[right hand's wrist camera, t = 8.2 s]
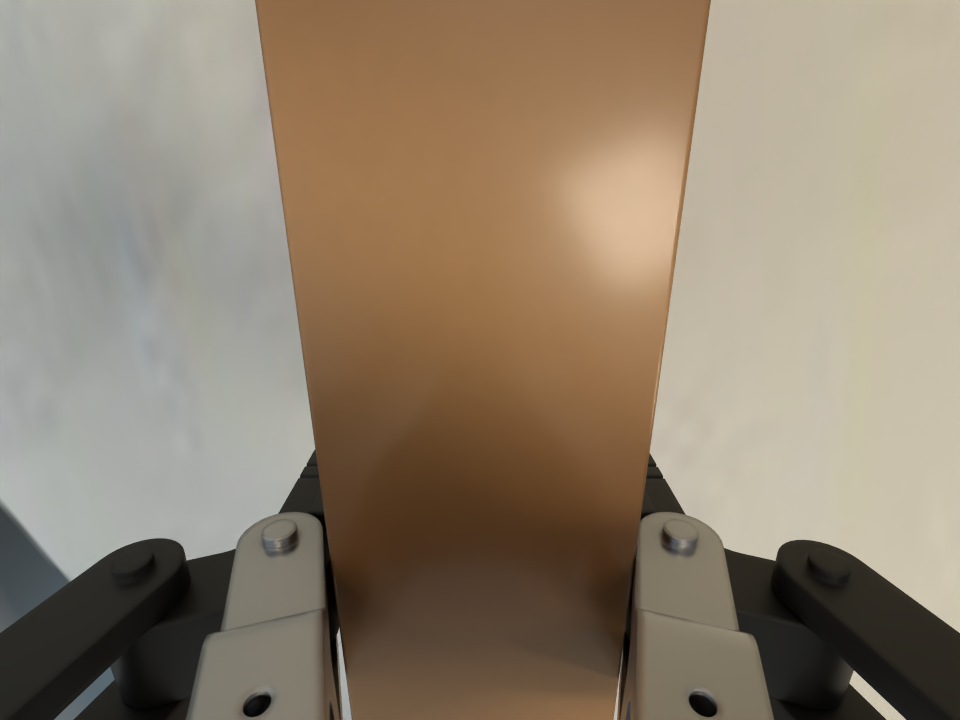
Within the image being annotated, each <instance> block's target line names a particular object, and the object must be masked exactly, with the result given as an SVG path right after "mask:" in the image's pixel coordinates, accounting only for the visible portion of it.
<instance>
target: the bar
mask: <svg viewBox="0 0 960 720" xmlns="http://www.w3.org/2000/svg"><path fill="white" fill-rule="evenodd" d="M710 2H711V0H255V3H256V11H257V18H258V26H259V33H260V40H261V48H262V55H263V63H264V70H265V78H266V85H267V92H268V100H269V107H270V115H271V122H272V130H273V137H274V144H275V152H276V159H277V167H278V174H279V182H280V189H281V196H282V204H283V211H284V219H285V226H286V233H287V241H288V248H289V256H290V263H291V271H292V278H293V285H294V293H295V300H296V308H297V315H298V323H299V330H300V337H301V345H302V352H303V360H304V367H305V375H306V382H307V389H308V397H309V404H310V412H311V419H312V427H313V434H314V441H315V449H316V456H317V464H318V471H319V478H320V486H321V493H322V501H323V508H324V516H325V523H326V530H327V538H328V545H329V553H330V560H331V568H332V575H333V582H334V590H335V597H336V605H337V612H338V620H339V627H340V634H341V642H342V649H343V657H344V664H345V671H346V679H347V686H348V694H349V701H350V709H351V716H352V720H613V718H614V710H615V703H616V696H617V688H618V681H619V674H620V666H621V659H622V651H623V644H624V637H625V629H626V622H627V615H628V607H629V600H630V592H631V585H632V578H633V570H634V563H635V555H636V548H637V541H638V533H639V526H640V519H641V511H642V504H643V496H644V489H645V482H646V474H647V467H648V459H649V452H650V445H651V437H652V430H653V423H654V415H655V408H656V400H657V393H658V386H659V378H660V371H661V364H662V356H663V349H664V341H665V334H666V327H667V319H668V312H669V304H670V297H671V290H672V282H673V275H674V268H675V260H676V253H677V245H678V238H679V231H680V223H681V216H682V208H683V201H684V194H685V186H686V179H687V172H688V164H689V157H690V149H691V142H692V135H693V127H694V120H695V113H696V105H697V98H698V90H699V83H700V76H701V68H702V61H703V53H704V46H705V39H706V31H707V24H708V17H709V9H710Z"/></svg>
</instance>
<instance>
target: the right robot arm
mask: <svg viewBox="0 0 960 720" xmlns="http://www.w3.org/2000/svg"><path fill="white" fill-rule="evenodd" d="M338 630H339V620H338V612H337V605H336V597H335V590H334V582H333V575H332V568H331V560H330V553H329V545H328V538H327V530H326V523H325V516H324V508H323V501H322V493H321V486H320V478H319V471H318V464H317V456H316V450H314V452H313V454H312V456H311V457H310V459H309V461H308V463H307V467H305V468H304V470H303V471H302V473H301V475H300V478H298V480H297V482H296V484H295V485H294V487H293V489H292V491H291V492H290V494H289V496H288V498H287V499H286V501H285V503H284V505H283V506H282V508H281V510H280V512H279V513H278V514H276V515H273V516H270V517H267V518H265V519H262V520H260V521H259V522H257V523H255V524H254V525H252V526H251V527H250V528H248V529H247V530H246V531H245V532H244V533H243V534H242V536H241V537H240V539H239V541H238V543H237V547H236V549H234V550H231V551H227V552H224V553H219V554H215V555H210V556H206V557H201V558H197V559H192V560H188V561H187V560H186V556H185V552H184V549H183V547H182V546H181V545H180V544H179V543H178V542H176V541H173V540H170V539H160V538H157V539H148V540H143V541H139V542H136V543H132V544H130V545H127V546H124V547H122V548H120V549H118V550H116V551H114V552H112V553H110V554H109V555H107V556H106V557H104V558H103V559H101V560H100V561H98V562H97V563H96V564H94V565H93V566H92V567H90V568H89V569H87V570H86V571H85V572H83V573H82V574H81V575H79V576H78V577H76V578H75V579H74V580H72V581H71V582H70V583H68V584H67V585H66V586H64V587H63V588H61V589H60V590H59V591H57V592H56V593H55V594H53V595H52V596H51V597H49V598H48V599H46V600H45V601H44V602H42V603H41V604H40V605H38V606H37V607H35V608H34V609H33V610H31V611H30V612H29V613H27V614H26V615H25V616H23V617H22V618H20V619H19V620H18V621H16V622H15V623H14V624H12V625H11V626H10V627H8V628H7V629H5V630H4V631H3V632H1V633H0V720H54V719H55V718H56V717H57V716H58V715H59V714H60V713H61V712H62V711H63V710H64V709H65V708H66V707H67V706H68V705H69V704H71V703H72V702H73V701H74V700H75V699H76V698H77V697H78V696H79V695H80V694H81V693H82V692H83V691H84V690H85V689H86V688H87V687H89V686H90V685H91V684H92V683H93V682H94V681H95V680H96V679H97V678H98V677H99V676H100V675H101V674H102V673H103V672H104V671H106V670H107V669H108V668H109V667H111V670H112V673H113V676H114V678H115V680H114V681H113V682H112V683H111V684H110V685H109V686H108V687H107V688H106V689H105V690H104V691H103V692H102V693H101V694H100V695H99V696H98V697H96V698H95V699H94V700H93V701H92V702H91V703H90V704H89V705H88V706H87V707H86V708H85V709H84V710H83V711H82V712H81V713H80V714H79V715H78V716H77V717H76V718H75V719H74V720H343V717H342V700H341V684H340V667H339V650H338V640H337V633H338ZM853 671H856V672H857V673H858V674H859V675H860V676H861V677H862V678H863V679H864V680H865V681H866V682H867V683H868V684H869V685H870V686H871V687H873V688H874V689H875V690H876V691H877V692H878V693H879V694H880V695H881V696H882V697H883V698H884V699H885V700H886V701H887V702H888V703H889V704H891V705H892V706H893V707H894V708H895V709H896V710H897V711H898V712H899V713H900V714H901V715H902V716H903V717H904V718H905V719H906V720H960V633H959V632H957V631H956V630H955V629H953V628H952V627H951V626H949V625H948V624H946V623H945V622H944V621H942V620H941V619H940V618H938V617H937V616H936V615H934V614H933V613H931V612H930V611H929V610H927V609H926V608H925V607H923V606H922V605H920V604H919V603H918V602H916V601H915V600H914V599H912V598H911V597H910V596H908V595H907V594H905V593H904V592H903V591H901V590H900V589H899V588H897V587H896V586H894V585H893V584H892V583H890V582H889V581H888V580H886V579H885V578H884V577H882V576H881V575H879V574H878V573H877V572H875V571H874V570H873V569H871V568H870V567H868V566H867V565H866V564H864V563H863V562H862V561H860V560H859V559H857V558H856V557H854V556H853V555H851V554H849V553H847V552H845V551H843V550H841V549H839V548H836V547H834V546H831V545H828V544H825V543H821V542H816V541H810V540H795V541H790V542H787V543H785V544H783V545H782V546H781V547H780V548H779V550H778V553H777V557H776V561H773V560H769V559H764V558H760V557H755V556H750V555H746V554H742V553H738V552H734V551H731V550H728V549H725V548H724V547H723V543H722V541H721V539H720V537H719V536H718V535H717V533H716V532H715V531H714V530H713V529H712V528H710V527H709V526H708V525H706V524H705V523H703V522H701V521H700V520H698V519H695V518H693V517H690V516H687V515H685V513H684V511H683V509H682V508H681V506H680V504H679V503H678V501H677V499H676V497H675V496H674V494H673V492H672V491H671V489H670V487H669V485H668V484H667V482H666V480H665V479H663V475H662V473H661V472H660V470H659V468H658V467H656V463H655V461H654V460H653V458H652V456H651V454H650V453H649V459H648V467H647V474H646V482H645V489H644V496H643V504H642V511H641V519H640V526H639V533H638V541H637V548H636V555H635V563H634V570H633V578H632V585H631V592H630V600H629V607H628V615H627V622H626V629H625V637H624V644H623V651H622V659H621V666H620V683H619V700H618V717H617V720H886V719H885V718H884V717H883V716H882V715H881V714H880V713H879V712H878V711H877V710H876V709H875V708H874V707H873V706H872V705H871V704H870V703H869V702H868V701H867V700H866V699H865V698H864V697H863V696H862V695H860V694H859V693H858V692H857V691H856V690H855V689H854V688H853V687H852V686H851V685H850V684H849V682H850V679H851V676H852V674H853Z"/></svg>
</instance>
